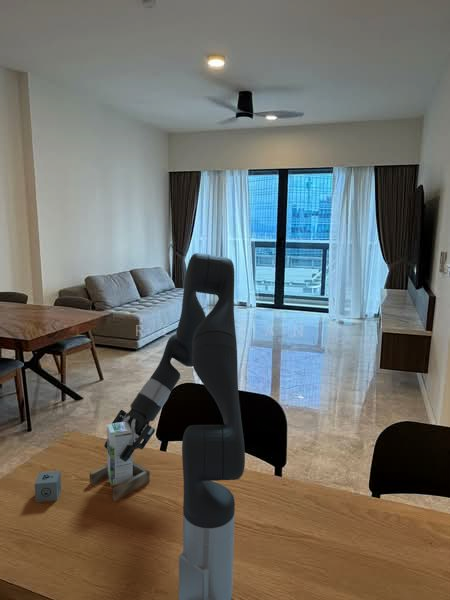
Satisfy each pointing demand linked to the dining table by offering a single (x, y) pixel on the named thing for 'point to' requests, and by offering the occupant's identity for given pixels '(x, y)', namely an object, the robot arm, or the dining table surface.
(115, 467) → the syrup box
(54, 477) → the dice cube
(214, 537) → the robot arm
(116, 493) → the frame
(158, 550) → the dining table surface
